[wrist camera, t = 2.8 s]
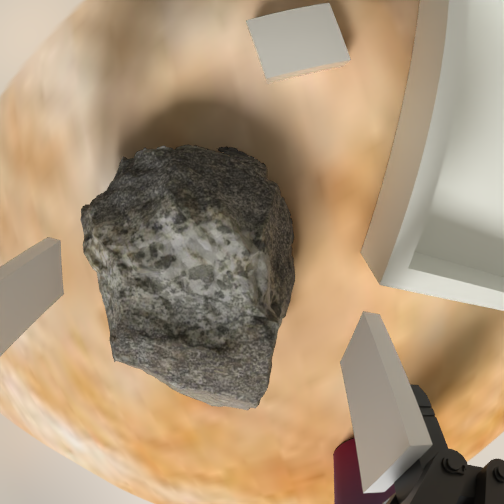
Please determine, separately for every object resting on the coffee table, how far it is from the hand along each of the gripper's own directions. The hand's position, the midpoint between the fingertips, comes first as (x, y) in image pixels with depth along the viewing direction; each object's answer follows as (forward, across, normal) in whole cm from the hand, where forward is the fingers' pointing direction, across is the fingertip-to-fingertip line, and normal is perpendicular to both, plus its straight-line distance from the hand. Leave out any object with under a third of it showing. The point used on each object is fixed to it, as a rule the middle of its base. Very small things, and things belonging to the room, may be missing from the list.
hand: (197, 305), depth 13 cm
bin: (+4, +16, +11) cm, 20 cm away
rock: (+5, 0, 0) cm, 5 cm away
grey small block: (+5, +2, +11) cm, 12 cm away
